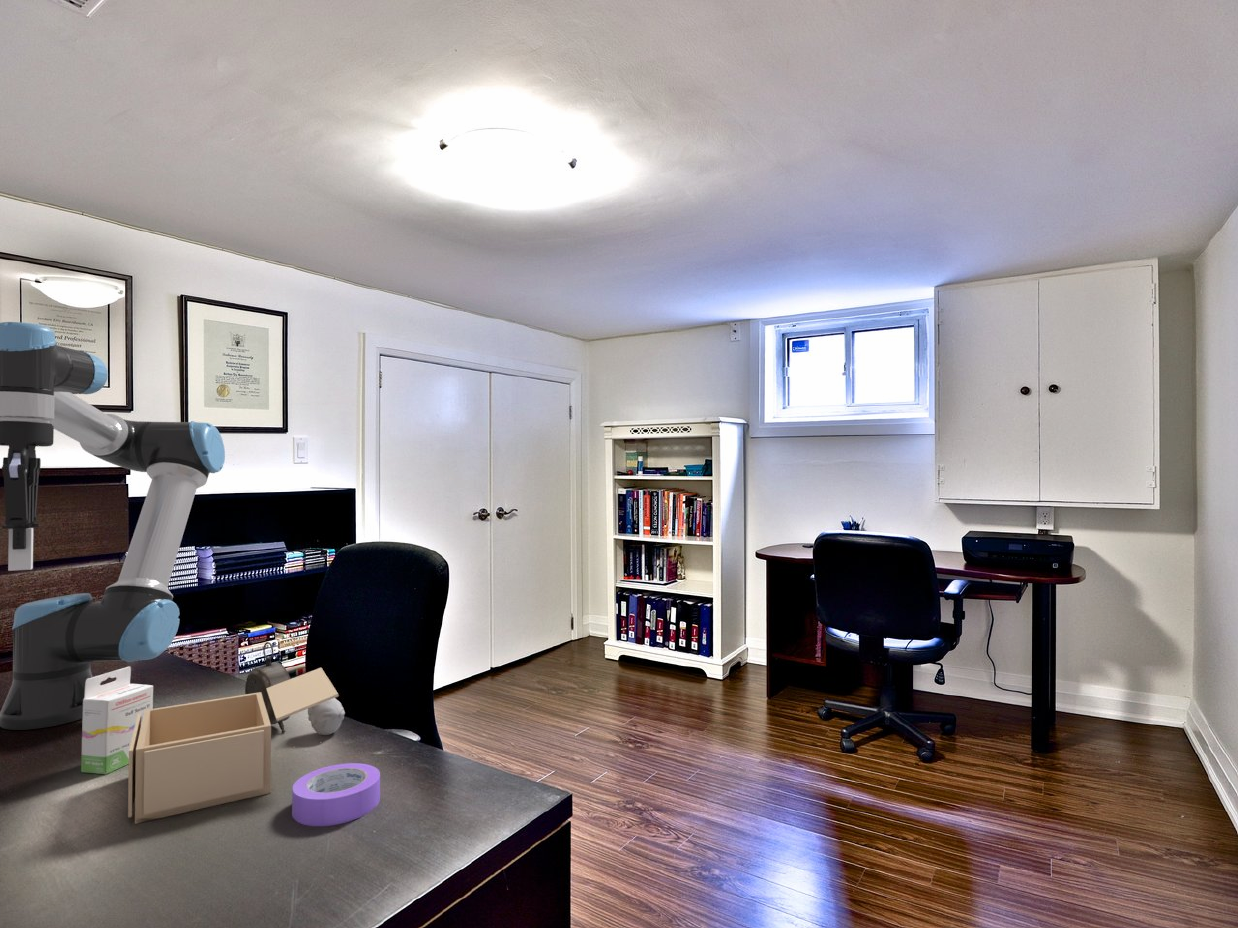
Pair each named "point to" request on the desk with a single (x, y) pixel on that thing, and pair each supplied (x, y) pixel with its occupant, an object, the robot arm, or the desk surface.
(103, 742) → the ink box
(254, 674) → the alarm clock
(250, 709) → the carton
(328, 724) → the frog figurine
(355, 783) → the masking tape
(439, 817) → the desk surface
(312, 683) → the flap
